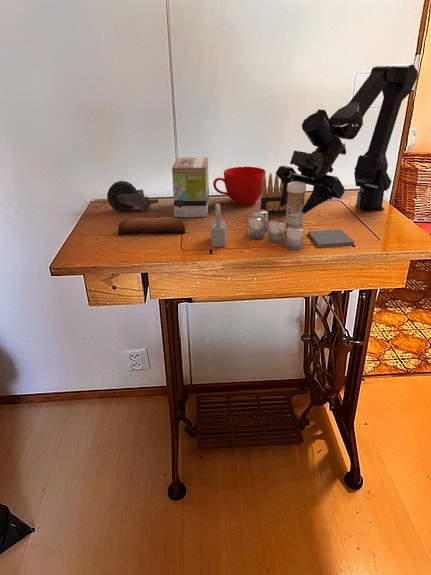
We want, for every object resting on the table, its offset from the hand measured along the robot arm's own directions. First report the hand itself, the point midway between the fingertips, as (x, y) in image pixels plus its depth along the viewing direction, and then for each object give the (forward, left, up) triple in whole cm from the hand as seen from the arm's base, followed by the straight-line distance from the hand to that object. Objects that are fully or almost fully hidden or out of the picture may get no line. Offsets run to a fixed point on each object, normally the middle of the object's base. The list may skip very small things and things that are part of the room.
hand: (291, 209), depth 113 cm
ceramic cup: (+9, -31, -7) cm, 33 cm away
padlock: (+19, +1, -7) cm, 20 cm away
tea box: (+24, -27, -7) cm, 37 cm away
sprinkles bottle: (-1, -1, -7) cm, 7 cm away
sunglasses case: (+36, -11, -8) cm, 38 cm away
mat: (-9, +4, -7) cm, 12 cm away
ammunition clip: (-1, -19, -7) cm, 20 cm away
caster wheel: (+42, -30, -7) cm, 52 cm away
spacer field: (+5, +1, -7) cm, 9 cm away
